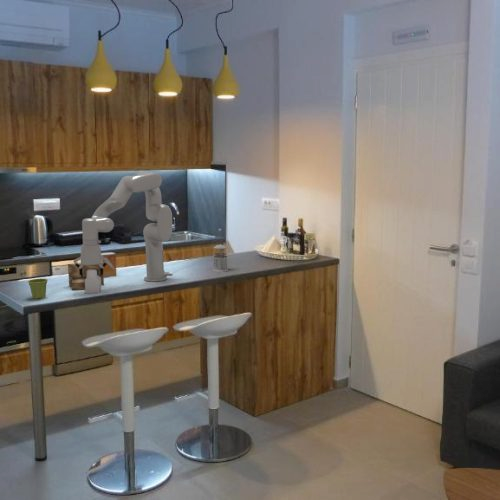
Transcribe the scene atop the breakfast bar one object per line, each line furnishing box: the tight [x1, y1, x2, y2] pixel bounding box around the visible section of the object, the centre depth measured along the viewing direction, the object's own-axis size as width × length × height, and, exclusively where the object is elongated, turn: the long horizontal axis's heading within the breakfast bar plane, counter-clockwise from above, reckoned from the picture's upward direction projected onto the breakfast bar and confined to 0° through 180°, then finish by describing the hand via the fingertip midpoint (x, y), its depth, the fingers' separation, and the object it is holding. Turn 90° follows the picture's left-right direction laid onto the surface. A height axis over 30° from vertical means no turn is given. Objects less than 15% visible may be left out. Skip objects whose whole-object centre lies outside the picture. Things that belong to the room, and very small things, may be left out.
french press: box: [212, 228, 229, 272], centre depth 369 cm, size 10×12×25 cm
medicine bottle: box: [84, 268, 102, 294], centre depth 317 cm, size 7×7×12 cm
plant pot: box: [27, 278, 49, 300], centre depth 306 cm, size 9×9×9 cm
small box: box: [101, 251, 117, 278], centre depth 357 cm, size 8×6×13 cm
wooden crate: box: [67, 263, 105, 291], centre depth 327 cm, size 18×10×12 cm, turn 102°
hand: (91, 276), depth 316 cm, fingers open, 9 cm apart
